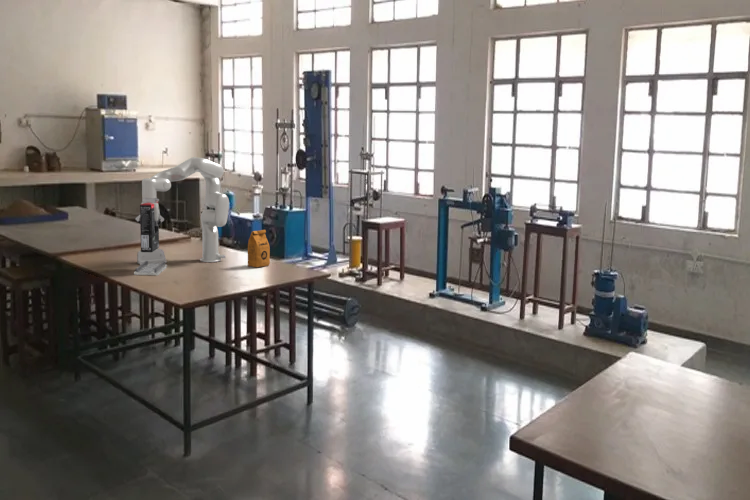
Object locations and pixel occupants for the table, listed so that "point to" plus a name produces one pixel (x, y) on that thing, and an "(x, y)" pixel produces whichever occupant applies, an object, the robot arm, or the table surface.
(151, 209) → the graphics card box
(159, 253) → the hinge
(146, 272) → the rail mount
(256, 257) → the coffee package
